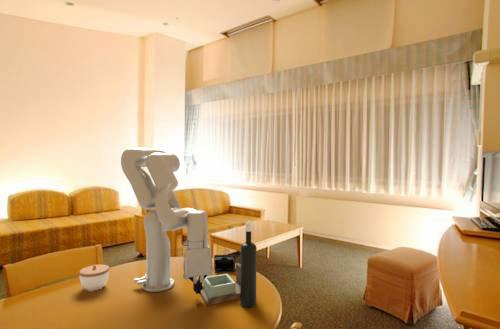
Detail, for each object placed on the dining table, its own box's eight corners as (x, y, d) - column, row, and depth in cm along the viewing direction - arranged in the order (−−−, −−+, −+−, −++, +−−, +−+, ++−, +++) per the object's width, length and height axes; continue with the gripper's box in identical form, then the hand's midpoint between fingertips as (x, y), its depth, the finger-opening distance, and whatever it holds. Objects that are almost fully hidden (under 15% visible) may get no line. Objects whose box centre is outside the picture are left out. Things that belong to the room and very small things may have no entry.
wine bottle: (244, 309, 102) (245, 223, 101) (237, 302, 107) (238, 220, 106) (259, 305, 104) (259, 222, 104) (251, 298, 110) (251, 219, 109)
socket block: (210, 299, 106) (210, 287, 106) (203, 288, 115) (203, 277, 115) (235, 294, 110) (235, 282, 110) (226, 284, 119) (226, 273, 119)
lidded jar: (82, 296, 111) (82, 272, 111) (76, 287, 119) (76, 264, 119) (112, 288, 118) (112, 265, 118) (105, 280, 126) (105, 258, 126)
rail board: (207, 305, 105) (207, 280, 104) (198, 291, 116) (198, 268, 115) (250, 296, 111) (250, 273, 111) (238, 284, 122) (238, 262, 122)
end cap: (235, 266, 143) (235, 253, 142) (235, 272, 136) (235, 257, 135) (214, 267, 142) (214, 253, 142) (213, 272, 135) (213, 258, 135)
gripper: (179, 248, 102) (179, 300, 103) (219, 243, 108) (219, 292, 109) (175, 243, 109) (175, 291, 110) (214, 238, 115) (214, 285, 115)
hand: (197, 292), depth 109 cm, fingers closed
